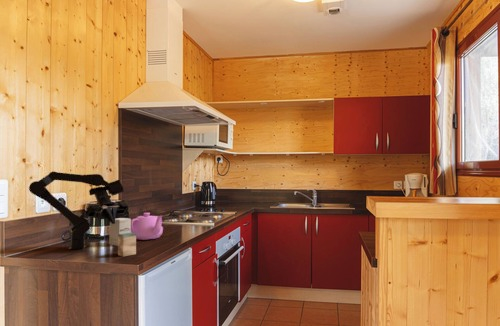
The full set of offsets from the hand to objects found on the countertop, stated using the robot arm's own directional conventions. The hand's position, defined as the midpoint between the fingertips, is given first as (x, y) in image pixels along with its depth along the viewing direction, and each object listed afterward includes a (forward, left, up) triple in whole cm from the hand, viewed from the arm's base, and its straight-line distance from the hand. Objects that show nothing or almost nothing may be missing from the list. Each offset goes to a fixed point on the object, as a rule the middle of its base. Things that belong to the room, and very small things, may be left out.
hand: (113, 223), depth 168 cm
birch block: (+10, +7, -12) cm, 18 cm away
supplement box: (-14, +1, -12) cm, 19 cm away
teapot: (-27, +14, -12) cm, 33 cm away
